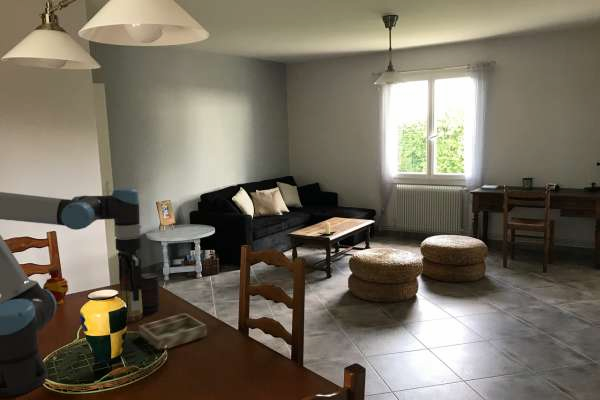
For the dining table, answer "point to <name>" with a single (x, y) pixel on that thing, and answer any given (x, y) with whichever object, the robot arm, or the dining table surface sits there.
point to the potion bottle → (56, 285)
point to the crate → (173, 330)
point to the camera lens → (150, 293)
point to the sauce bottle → (128, 295)
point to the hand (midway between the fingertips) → (131, 306)
